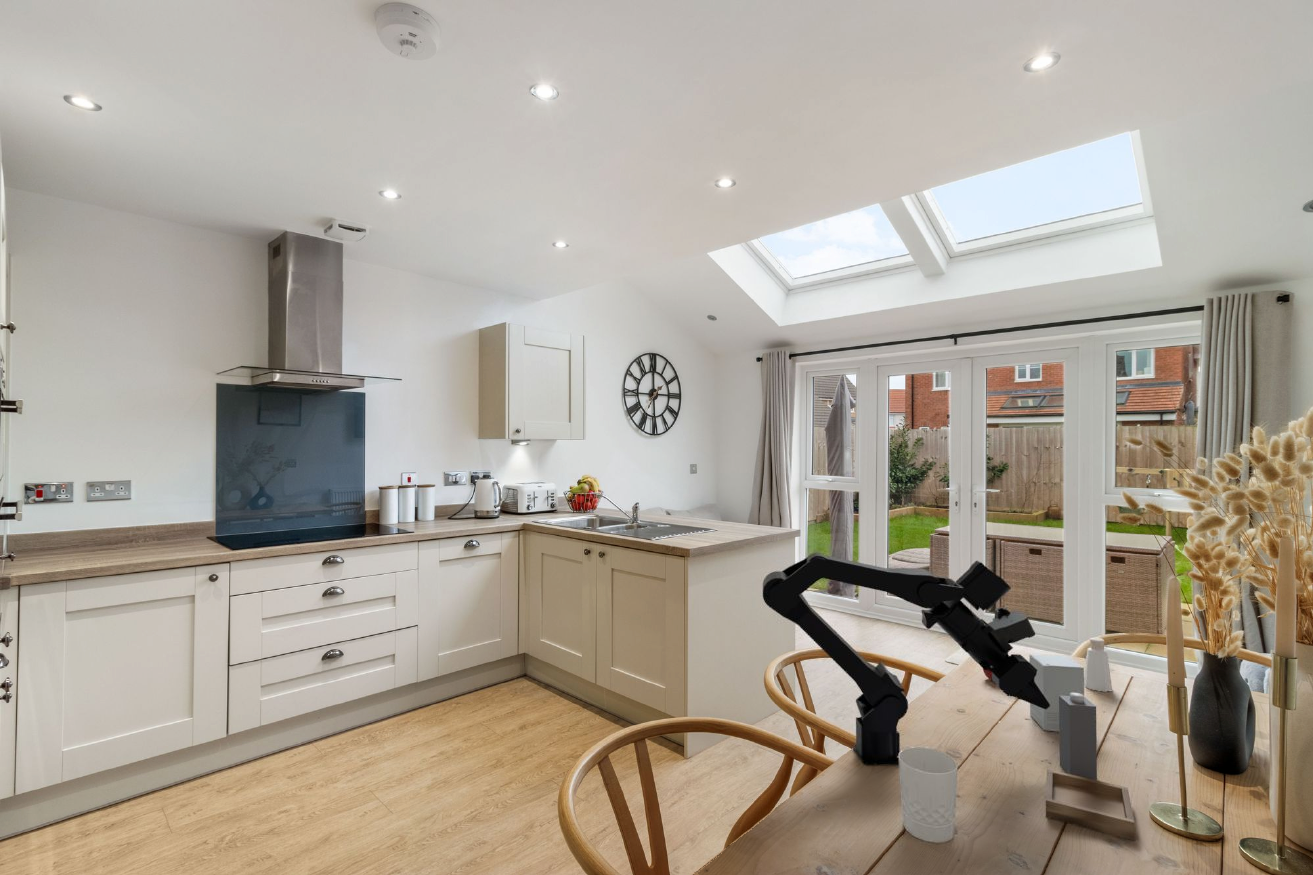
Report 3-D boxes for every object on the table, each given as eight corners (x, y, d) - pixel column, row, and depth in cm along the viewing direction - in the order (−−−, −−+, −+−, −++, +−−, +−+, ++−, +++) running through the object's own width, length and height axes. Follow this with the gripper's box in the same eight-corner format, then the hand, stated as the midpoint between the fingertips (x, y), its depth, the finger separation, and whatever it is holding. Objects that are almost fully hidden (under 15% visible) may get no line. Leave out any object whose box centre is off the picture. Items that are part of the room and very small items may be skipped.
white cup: (954, 853, 86) (953, 779, 86) (893, 834, 90) (893, 764, 90) (961, 823, 93) (960, 755, 93) (904, 807, 97) (904, 741, 97)
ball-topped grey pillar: (1070, 777, 105) (1069, 698, 105) (1059, 765, 109) (1058, 689, 109) (1096, 779, 105) (1096, 700, 105) (1085, 767, 109) (1084, 691, 109)
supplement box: (1086, 734, 121) (1085, 667, 121) (1043, 730, 122) (1042, 665, 122) (1069, 717, 128) (1068, 654, 128) (1028, 714, 129) (1028, 652, 129)
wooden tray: (1045, 816, 94) (1045, 800, 94) (1047, 784, 103) (1046, 768, 103) (1134, 840, 89) (1134, 822, 89) (1127, 803, 98) (1127, 787, 98)
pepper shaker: (1118, 692, 140) (1117, 642, 141) (1093, 692, 141) (1093, 642, 141) (1101, 682, 146) (1100, 635, 146) (1077, 683, 146) (1077, 635, 146)
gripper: (1021, 611, 100) (1100, 685, 98) (983, 584, 118) (1049, 646, 116) (969, 658, 101) (1045, 732, 99) (939, 625, 120) (1003, 687, 118)
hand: (1036, 696), depth 108 cm, fingers open, 9 cm apart
